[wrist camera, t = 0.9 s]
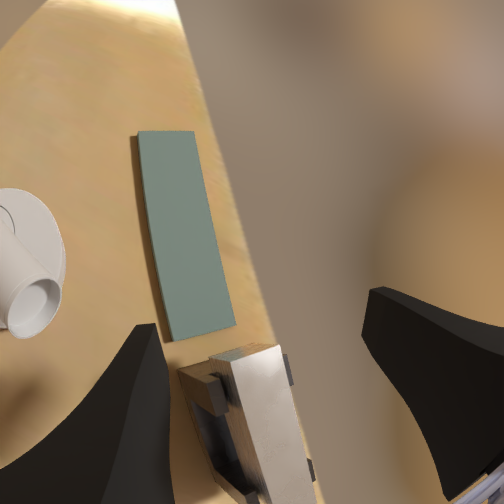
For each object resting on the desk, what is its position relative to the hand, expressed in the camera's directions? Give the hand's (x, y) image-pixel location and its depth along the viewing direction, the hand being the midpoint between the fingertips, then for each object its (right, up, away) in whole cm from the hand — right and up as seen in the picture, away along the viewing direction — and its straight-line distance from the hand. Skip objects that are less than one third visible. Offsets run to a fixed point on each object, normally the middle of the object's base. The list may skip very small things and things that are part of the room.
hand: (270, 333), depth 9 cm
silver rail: (0, -9, +7) cm, 11 cm away
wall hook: (-16, +1, +6) cm, 17 cm away
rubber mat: (-6, +4, +12) cm, 14 cm away
